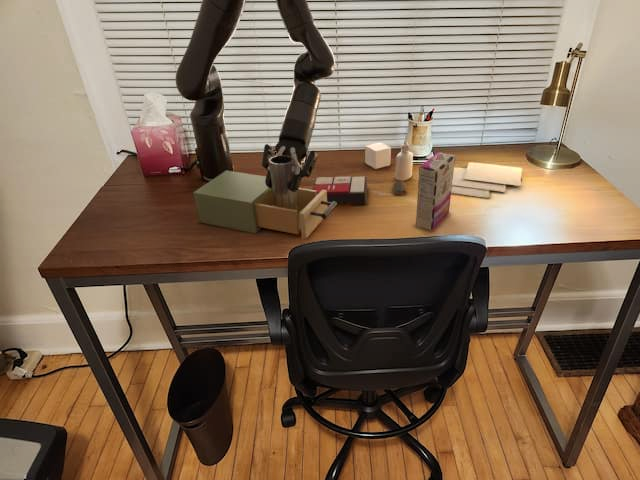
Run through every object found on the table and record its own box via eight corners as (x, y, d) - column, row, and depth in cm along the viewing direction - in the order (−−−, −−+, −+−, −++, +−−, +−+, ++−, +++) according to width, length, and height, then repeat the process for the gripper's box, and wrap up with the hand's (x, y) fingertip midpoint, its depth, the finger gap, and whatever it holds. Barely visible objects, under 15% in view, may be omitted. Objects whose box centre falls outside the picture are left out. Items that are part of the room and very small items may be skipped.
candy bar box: (432, 208, 119) (438, 150, 110) (449, 213, 117) (456, 154, 108) (413, 226, 112) (418, 165, 102) (431, 231, 110) (438, 170, 100)
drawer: (342, 216, 115) (341, 192, 111) (322, 241, 105) (320, 216, 101) (276, 204, 120) (273, 181, 116) (250, 228, 110) (246, 203, 106)
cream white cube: (390, 165, 144) (391, 147, 141) (375, 169, 142) (375, 151, 138) (379, 159, 148) (380, 141, 145) (365, 163, 146) (365, 145, 142)
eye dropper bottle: (392, 176, 137) (394, 138, 130) (410, 174, 138) (412, 137, 131) (396, 181, 134) (398, 143, 127) (414, 180, 135) (417, 141, 128)
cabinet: (283, 207, 121) (279, 178, 116) (256, 233, 110) (250, 202, 104) (231, 198, 125) (226, 170, 120) (200, 222, 114) (192, 192, 109)
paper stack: (518, 202, 122) (519, 199, 122) (430, 190, 129) (430, 188, 128) (521, 170, 140) (521, 168, 140) (443, 160, 146) (443, 159, 146)
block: (403, 186, 131) (404, 180, 130) (405, 195, 126) (406, 189, 125) (391, 186, 131) (392, 180, 130) (393, 195, 126) (393, 189, 125)
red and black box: (315, 175, 129) (366, 174, 128) (317, 189, 131) (367, 187, 130) (310, 192, 120) (365, 190, 119) (312, 206, 122) (365, 204, 121)
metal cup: (270, 211, 110) (264, 162, 102) (281, 201, 114) (276, 153, 106) (291, 215, 108) (286, 165, 101) (301, 204, 113) (297, 156, 105)
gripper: (266, 114, 107) (247, 179, 105) (320, 120, 103) (301, 188, 101) (278, 129, 114) (261, 190, 112) (329, 135, 110) (312, 198, 108)
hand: (280, 188), depth 106 cm, fingers closed on metal cup, 6 cm apart
